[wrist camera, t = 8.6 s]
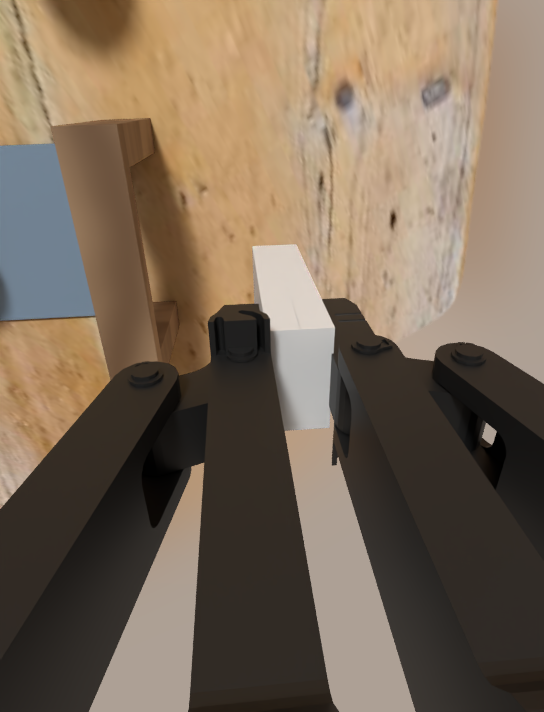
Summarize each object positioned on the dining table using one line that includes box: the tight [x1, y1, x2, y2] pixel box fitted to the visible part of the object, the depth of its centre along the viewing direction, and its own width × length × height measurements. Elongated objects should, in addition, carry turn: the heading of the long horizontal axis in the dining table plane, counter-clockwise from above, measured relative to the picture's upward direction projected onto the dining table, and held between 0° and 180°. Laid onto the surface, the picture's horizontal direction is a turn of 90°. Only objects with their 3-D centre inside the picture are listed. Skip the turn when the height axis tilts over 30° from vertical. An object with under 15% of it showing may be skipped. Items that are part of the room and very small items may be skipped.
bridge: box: [51, 118, 179, 380], centre depth 29 cm, size 3×14×9 cm, turn 2°
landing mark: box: [0, 144, 95, 321], centre depth 32 cm, size 12×12×1 cm
